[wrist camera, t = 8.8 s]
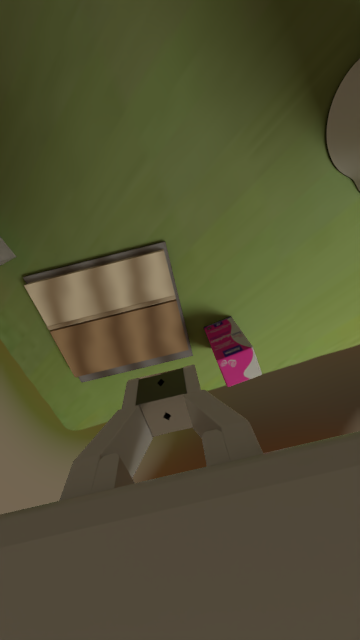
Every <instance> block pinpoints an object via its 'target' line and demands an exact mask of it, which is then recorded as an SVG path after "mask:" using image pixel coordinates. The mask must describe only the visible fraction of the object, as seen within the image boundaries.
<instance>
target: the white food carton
mask: <svg viewBox="0 0 360 640" xmlns="http://www.w3.org/2000/svg"><path fill="white" fill-rule="evenodd" d="M15 257H16V256H15V254H14V253H13V252H12V251H11V249H10V248H9V247H8V246H7V245H6V243H5V242H4V241H3V240H2V238H1V237H0V265H2V264H4V263H6V262H8V261H9V260H11V259H13V258H15Z"/></svg>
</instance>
